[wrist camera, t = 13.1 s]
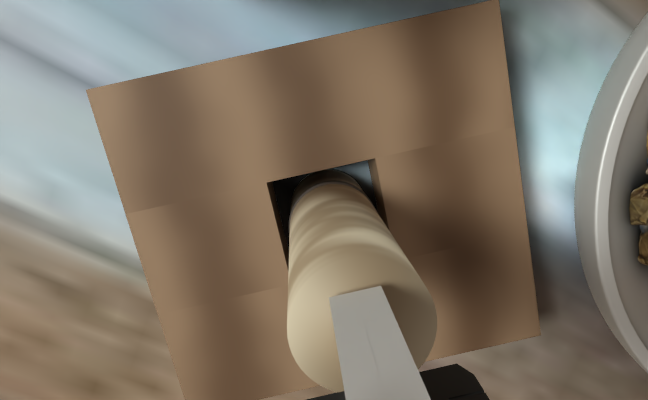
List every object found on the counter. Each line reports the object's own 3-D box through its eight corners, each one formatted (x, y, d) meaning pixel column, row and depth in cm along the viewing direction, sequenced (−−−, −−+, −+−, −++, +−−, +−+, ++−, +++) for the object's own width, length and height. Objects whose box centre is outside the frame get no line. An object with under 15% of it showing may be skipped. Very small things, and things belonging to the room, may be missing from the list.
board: (473, 9, 27) (498, -2, 24) (514, 308, 31) (541, 335, 28) (112, 89, 27) (85, 90, 24) (201, 379, 31) (189, 415, 28)
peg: (358, 160, 29) (425, 239, 14) (373, 234, 30) (449, 378, 15) (281, 177, 29) (269, 274, 14) (299, 251, 30) (304, 411, 15)
